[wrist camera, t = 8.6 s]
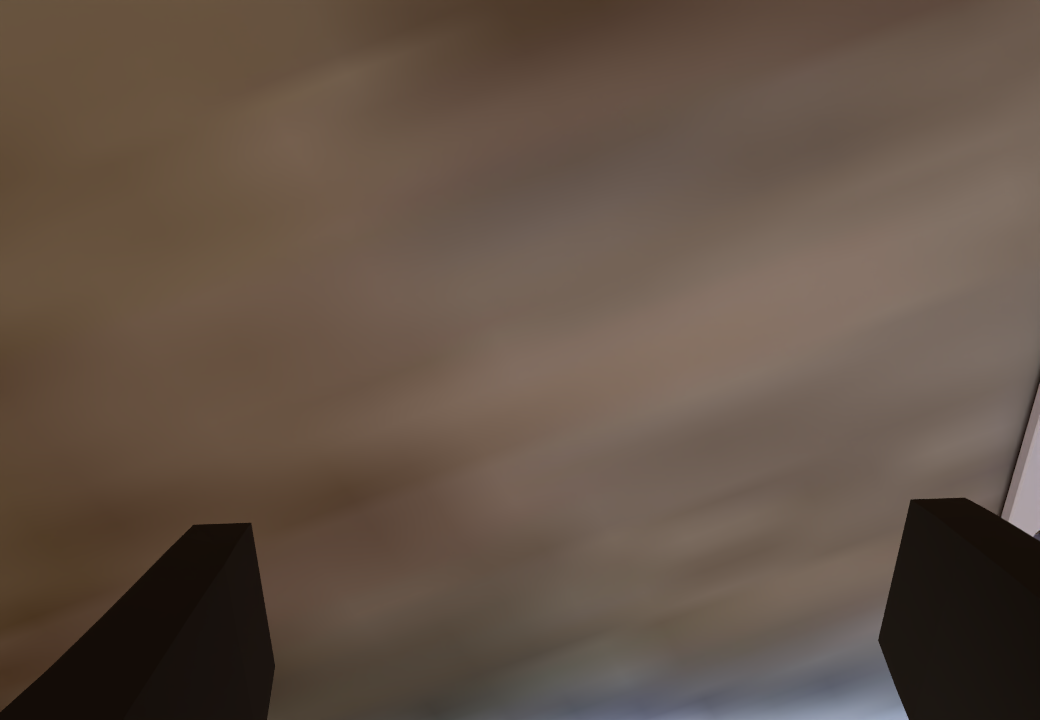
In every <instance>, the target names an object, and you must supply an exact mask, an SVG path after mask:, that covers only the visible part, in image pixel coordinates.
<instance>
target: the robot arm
mask: <svg viewBox="0 0 1040 720" xmlns="http://www.w3.org/2000/svg"><path fill="white" fill-rule="evenodd" d="M1038 531H1040V384H1039V388H1038V391H1037V395H1036V398H1035V401H1034V405H1033V408H1032V412H1031V415H1030V419H1029V422H1028V426H1027V429H1026V433H1025V436H1024V440H1023V443H1022V447H1021V450H1020V453H1019V457H1018V460H1017V464H1016V467H1015V471H1014V474H1013V478H1012V481H1011V485H1010V488H1009V492H1008V495H1007V498H1006V502H1005V505H1004V509H1003V512H1002V516H1001V517H999V516H997V515H996V514H994V513H992V512H990V511H989V510H987V509H985V508H983V507H981V506H980V505H978V504H976V503H974V502H972V501H970V500H968V499H966V498H942V499H913V500H910V505H909V509H908V513H907V518H906V522H905V526H904V531H903V535H902V539H901V544H900V548H899V552H898V557H897V561H896V565H895V570H894V574H893V578H892V583H891V587H890V591H889V596H888V600H887V604H886V609H885V613H884V617H883V622H882V626H881V630H880V634H879V639H878V641H879V644H880V646H881V649H882V652H883V654H884V657H885V660H886V662H887V665H888V668H889V671H890V673H891V676H892V679H893V681H894V684H895V687H896V689H897V692H898V694H899V696H900V699H901V701H902V704H903V706H904V709H905V711H906V714H907V716H908V718H909V720H1040V533H1039V534H1037V535H1035V533H1037V532H1038ZM274 669H275V663H274V657H273V651H272V645H271V639H270V633H269V627H268V621H267V615H266V609H265V603H264V597H263V591H262V585H261V579H260V573H259V567H258V561H257V555H256V549H255V543H254V537H253V531H252V525H251V523H233V524H204V525H193V526H192V527H191V528H190V529H189V530H188V531H187V532H186V533H185V534H184V535H183V536H182V537H181V538H180V539H179V540H178V541H177V542H176V543H175V544H174V545H172V546H171V547H170V548H169V549H168V550H167V551H166V552H165V553H164V554H163V556H162V557H161V558H160V559H159V560H158V561H157V562H156V563H155V564H154V565H153V566H152V567H151V568H150V569H149V570H148V571H147V572H146V573H145V574H144V575H143V576H142V577H141V578H140V579H139V580H138V581H137V582H136V583H135V584H134V585H133V586H132V587H131V588H130V589H129V590H128V591H127V592H126V593H125V594H124V595H123V596H122V597H121V598H120V599H119V600H118V601H117V602H116V603H115V604H114V605H113V606H112V607H111V608H110V609H109V610H108V611H107V612H106V613H105V614H104V615H103V616H102V617H101V618H100V619H99V620H98V621H97V622H96V623H95V624H94V625H93V626H92V627H91V628H90V629H89V630H88V631H87V632H86V633H85V634H84V635H83V636H82V637H81V638H80V639H79V640H78V641H77V642H76V643H75V644H74V645H73V646H72V647H71V648H70V649H68V650H67V651H66V652H65V653H64V654H63V655H62V656H61V657H60V658H59V659H58V660H57V661H56V662H55V663H54V664H53V665H52V666H51V667H50V668H49V669H48V670H47V671H46V672H45V673H44V674H42V675H41V676H40V677H39V678H38V679H37V680H36V681H35V682H34V683H32V684H31V685H30V686H29V687H28V688H27V689H26V690H25V691H23V692H22V693H21V694H20V695H19V696H18V697H17V698H16V699H15V700H13V701H12V702H11V703H10V704H9V705H8V706H7V707H6V708H5V709H3V710H2V711H1V712H0V720H267V715H268V709H269V702H270V696H271V689H272V683H273V676H274Z"/></svg>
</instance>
